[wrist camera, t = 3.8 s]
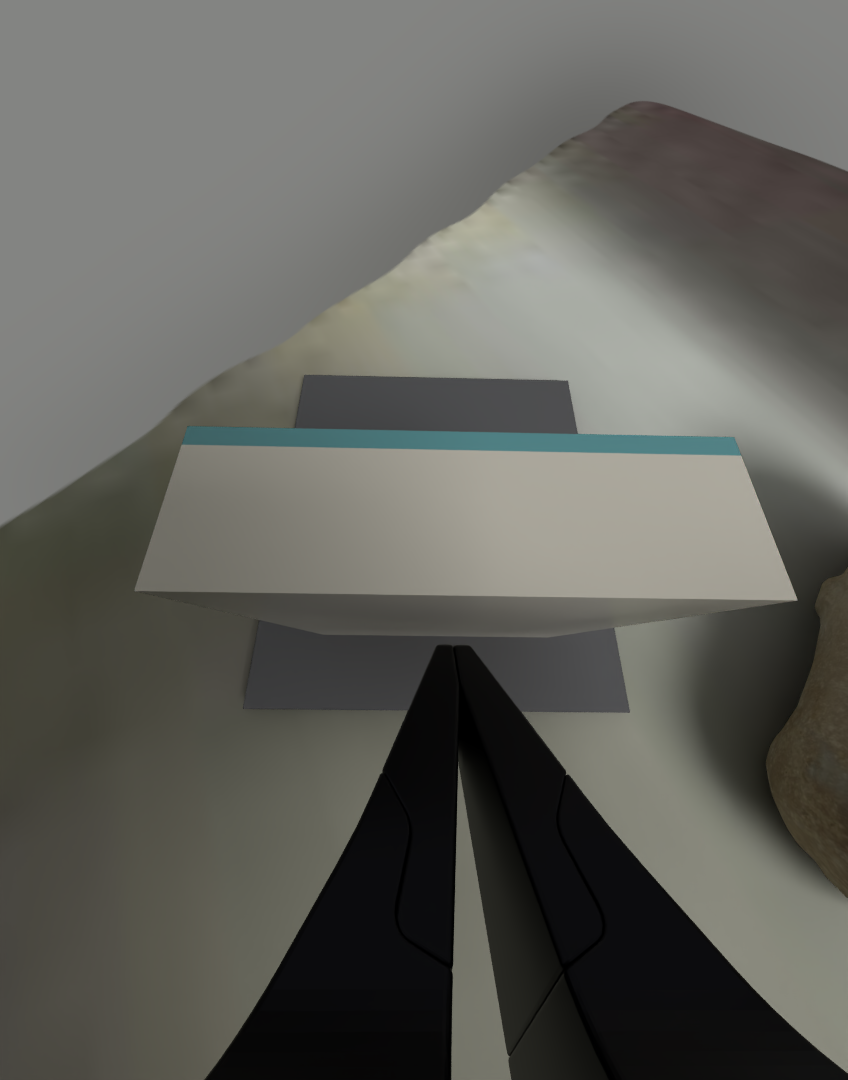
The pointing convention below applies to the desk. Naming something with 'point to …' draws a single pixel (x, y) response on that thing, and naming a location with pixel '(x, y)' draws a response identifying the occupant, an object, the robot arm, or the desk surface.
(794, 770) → the sculpture
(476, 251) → the desk surface
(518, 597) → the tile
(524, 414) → the mat
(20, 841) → the desk surface
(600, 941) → the robot arm
